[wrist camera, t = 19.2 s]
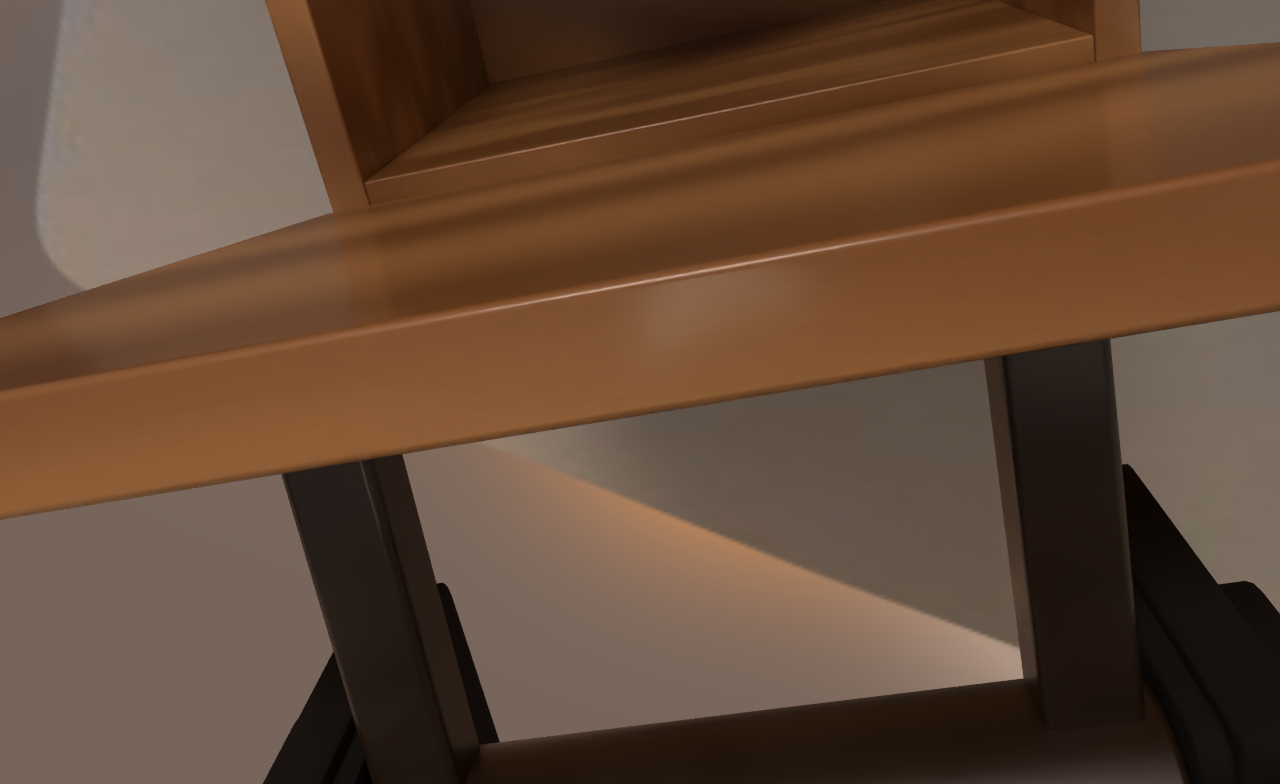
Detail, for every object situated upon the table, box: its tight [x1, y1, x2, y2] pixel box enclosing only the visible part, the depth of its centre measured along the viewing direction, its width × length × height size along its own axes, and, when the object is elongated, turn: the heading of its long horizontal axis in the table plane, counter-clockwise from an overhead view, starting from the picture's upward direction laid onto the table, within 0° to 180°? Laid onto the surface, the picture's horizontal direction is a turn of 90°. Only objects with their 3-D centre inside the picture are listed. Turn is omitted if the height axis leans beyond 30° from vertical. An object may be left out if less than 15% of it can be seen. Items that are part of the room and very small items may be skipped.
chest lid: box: [0, 42, 1280, 784], centre depth 14 cm, size 15×16×6 cm
